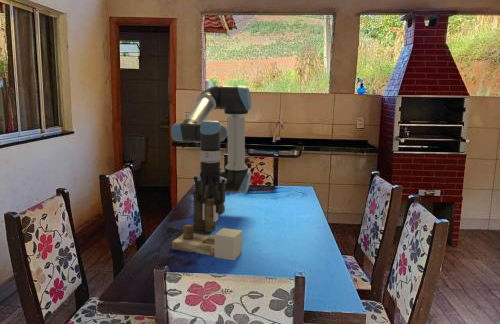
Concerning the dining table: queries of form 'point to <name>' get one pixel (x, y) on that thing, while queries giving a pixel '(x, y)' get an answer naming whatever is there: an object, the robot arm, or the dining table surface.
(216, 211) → the robot arm
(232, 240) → the block
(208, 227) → the peg
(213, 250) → the board
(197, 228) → the container
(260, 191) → the dining table surface
